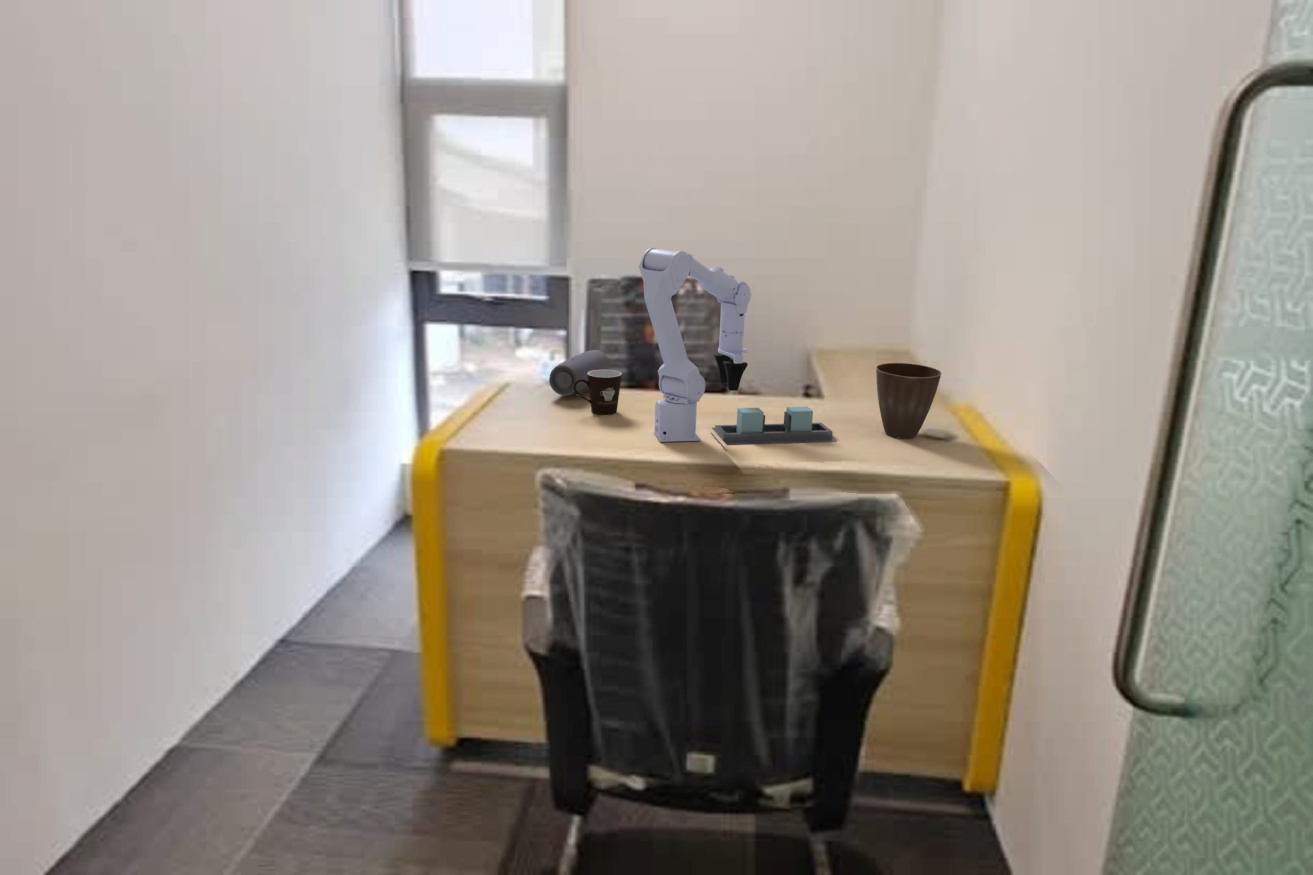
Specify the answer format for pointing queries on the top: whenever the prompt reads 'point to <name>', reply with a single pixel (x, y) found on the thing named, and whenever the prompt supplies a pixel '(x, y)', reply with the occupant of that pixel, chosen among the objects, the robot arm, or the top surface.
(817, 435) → the rail
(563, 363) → the bluetooth speaker
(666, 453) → the top surface
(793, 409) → the light blue block
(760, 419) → the lidded storage box
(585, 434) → the top surface
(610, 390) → the coffee mug
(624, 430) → the top surface
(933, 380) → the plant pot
